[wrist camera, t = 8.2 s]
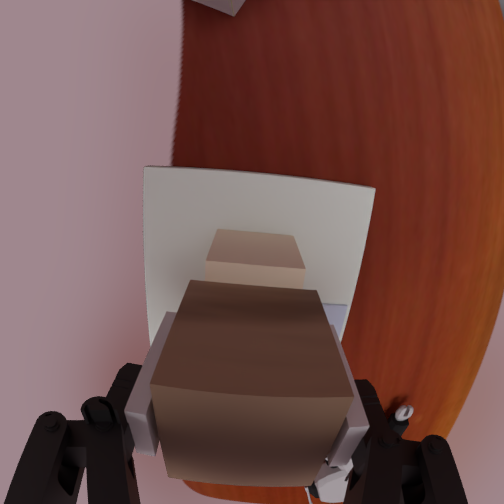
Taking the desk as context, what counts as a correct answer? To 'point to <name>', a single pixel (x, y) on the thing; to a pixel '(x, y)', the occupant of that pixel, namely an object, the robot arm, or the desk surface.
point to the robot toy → (349, 465)
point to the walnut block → (249, 386)
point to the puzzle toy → (223, 5)
